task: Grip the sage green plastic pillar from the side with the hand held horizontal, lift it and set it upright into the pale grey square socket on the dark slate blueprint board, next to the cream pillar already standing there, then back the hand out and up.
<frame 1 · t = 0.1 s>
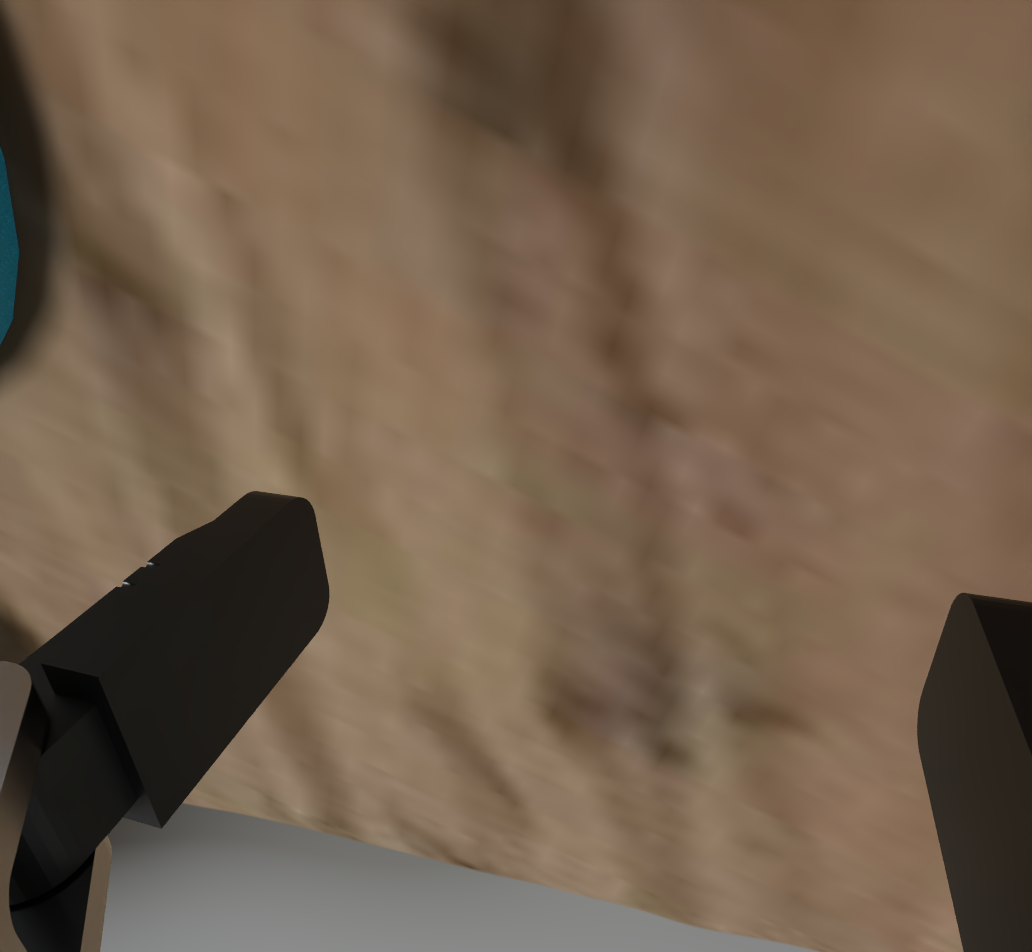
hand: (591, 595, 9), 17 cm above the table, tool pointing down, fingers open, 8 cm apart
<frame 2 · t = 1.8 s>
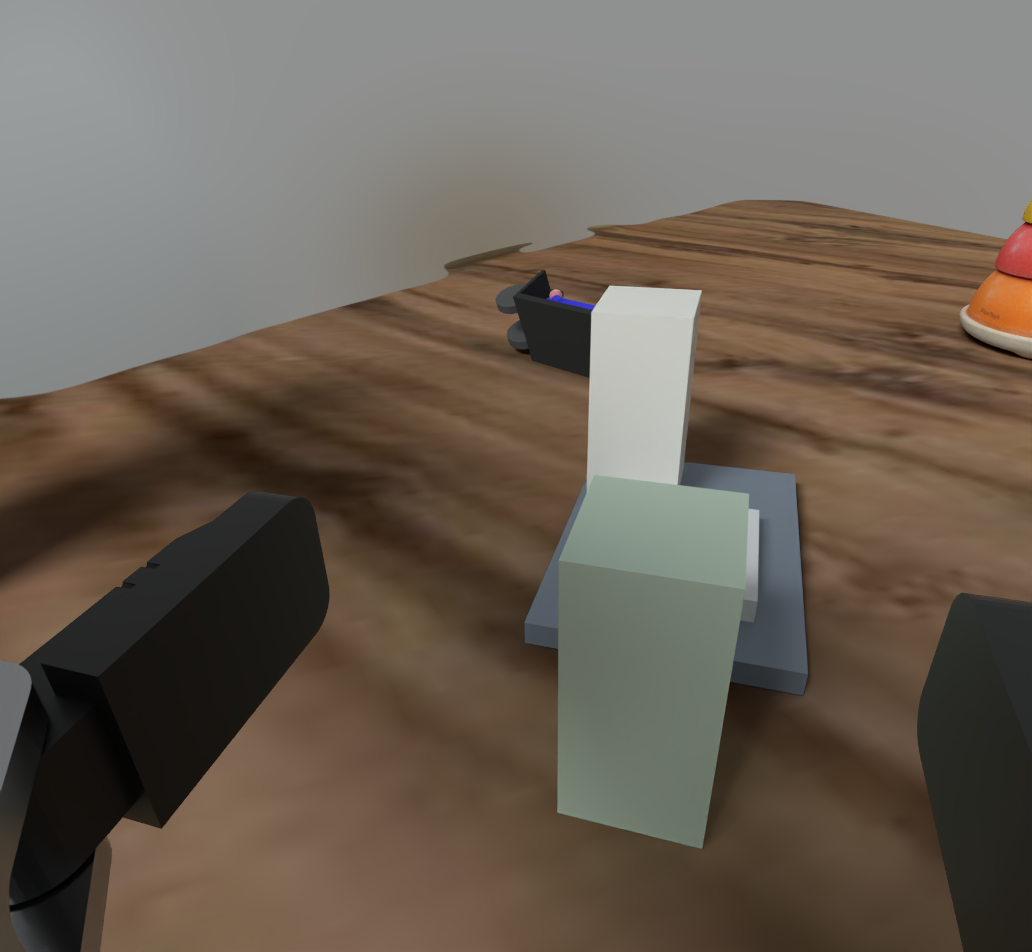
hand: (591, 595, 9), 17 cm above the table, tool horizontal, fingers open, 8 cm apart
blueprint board: (677, 556, 39), on the table
standing pillar: (635, 501, 44), resting on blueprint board
character figurine: (572, 369, 63), on the table
sage pillar: (638, 771, 27), on the table
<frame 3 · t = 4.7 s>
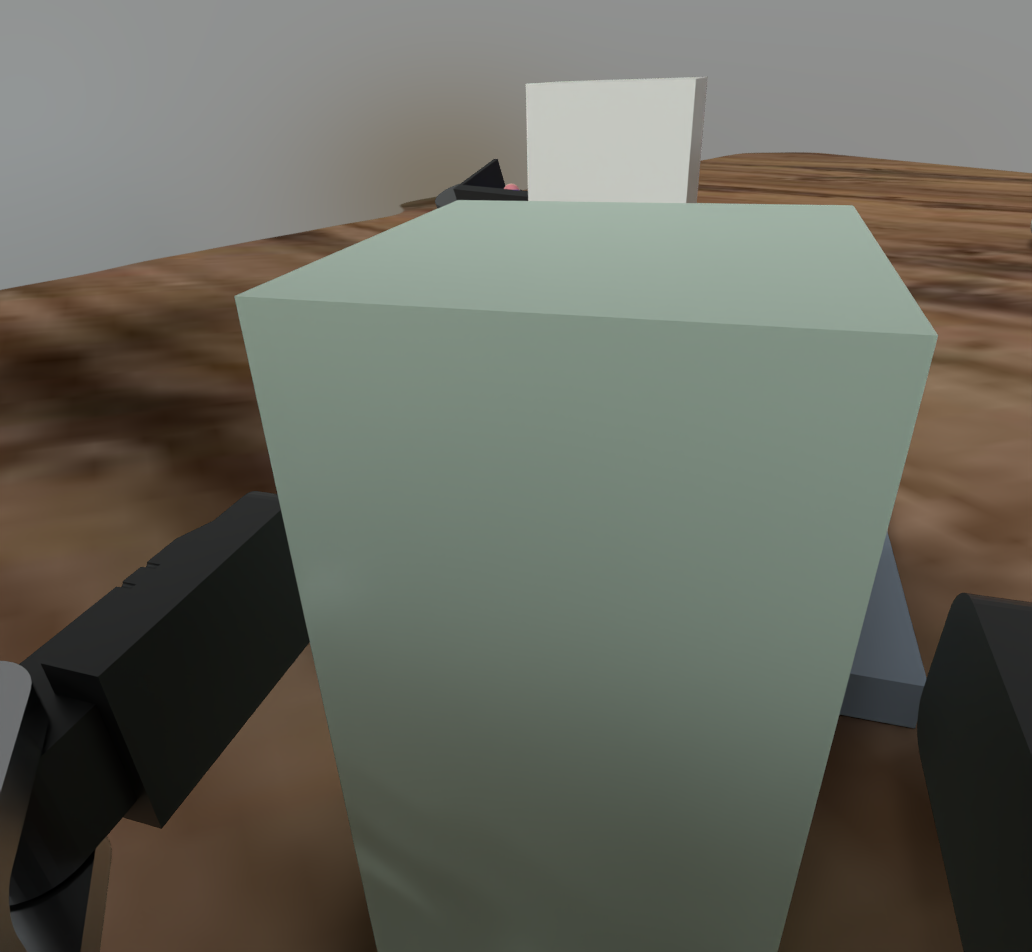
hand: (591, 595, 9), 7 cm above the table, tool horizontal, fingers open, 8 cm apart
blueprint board: (671, 496, 24), on the table
standing pillar: (609, 426, 29), resting on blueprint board
character figurine: (534, 289, 49), on the table
sage pillar: (586, 900, 12), on the table
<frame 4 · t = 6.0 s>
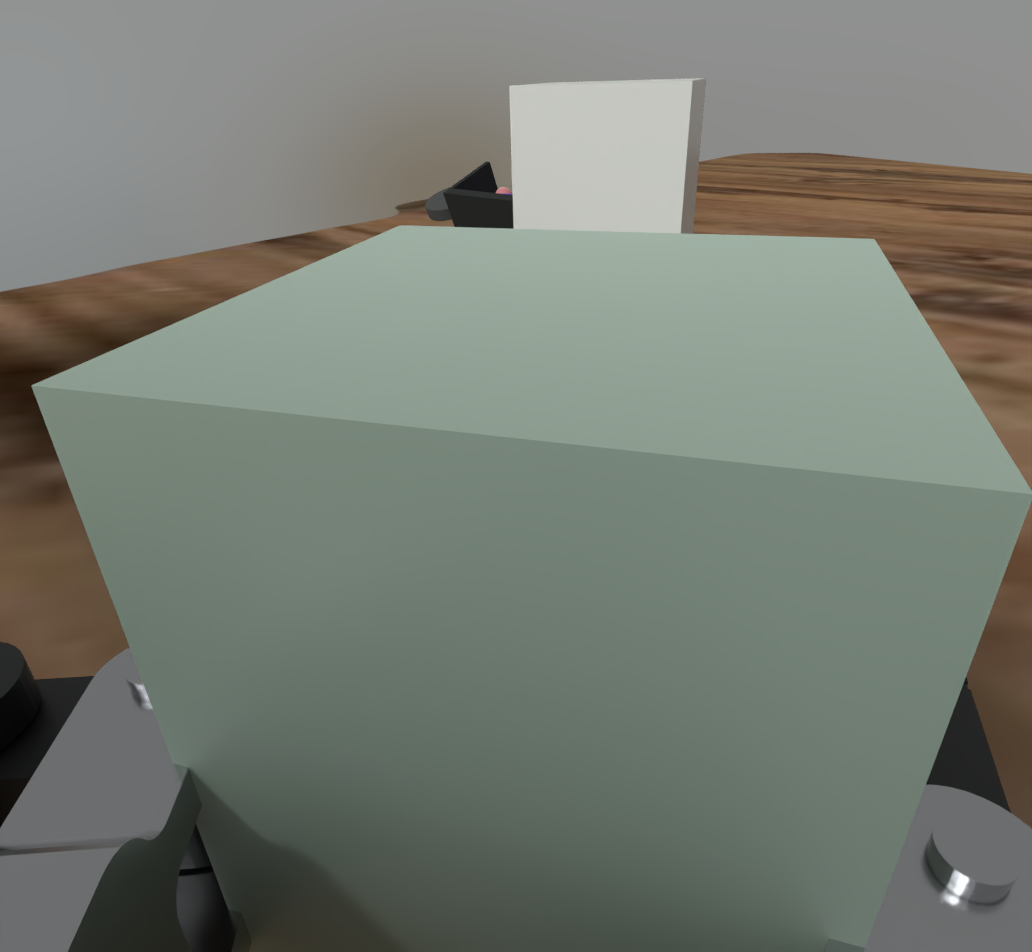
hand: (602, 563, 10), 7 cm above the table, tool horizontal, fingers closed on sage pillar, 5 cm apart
standing pillar: (602, 446, 28), resting on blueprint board
character figurine: (527, 296, 48), on the table
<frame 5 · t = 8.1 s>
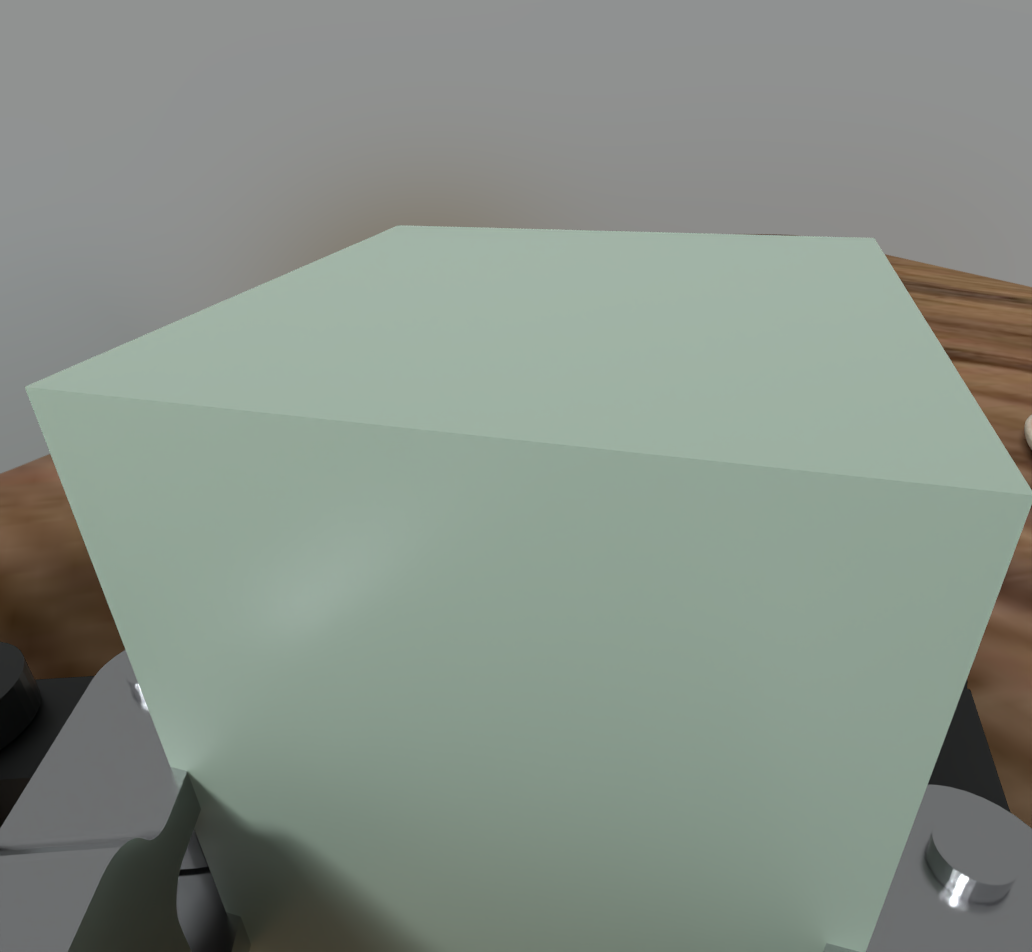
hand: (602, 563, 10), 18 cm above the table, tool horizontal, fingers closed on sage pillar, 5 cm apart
when the fingers open (9 cm above the table, at t = 10.7 s): sage pillar drops 2 cm, resting on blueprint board.
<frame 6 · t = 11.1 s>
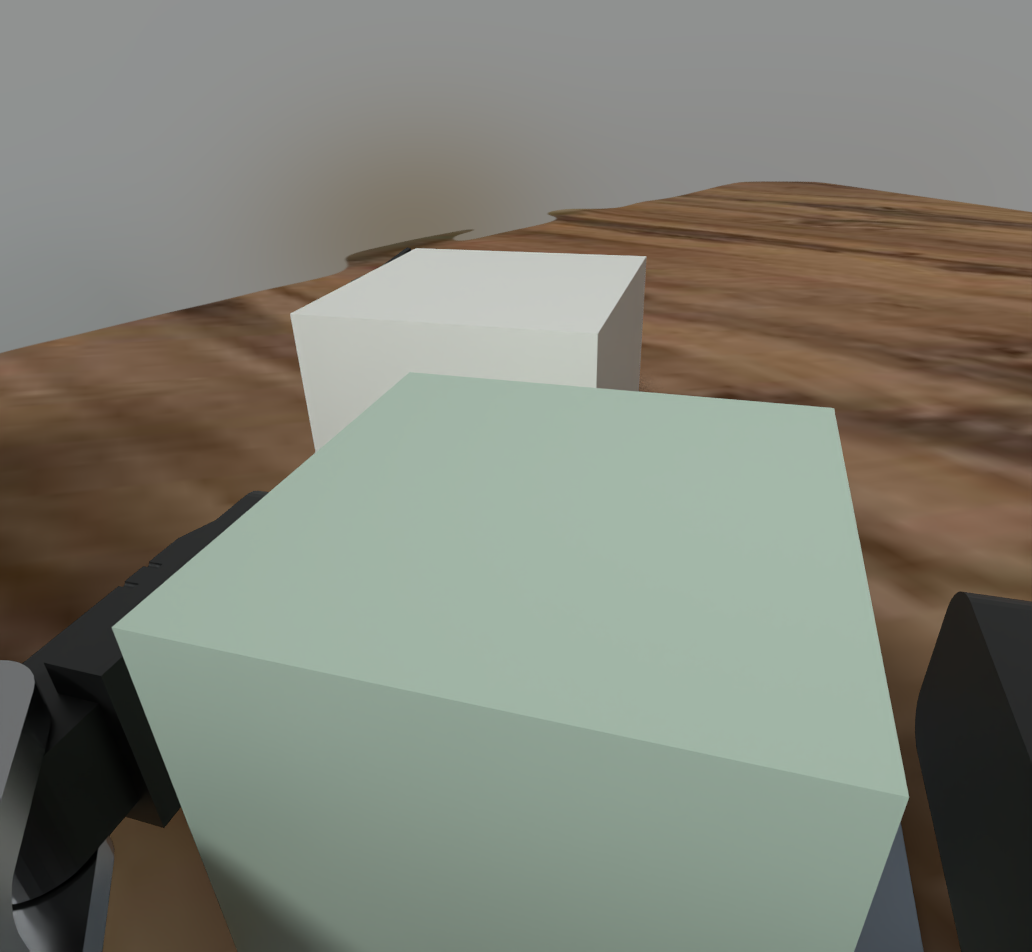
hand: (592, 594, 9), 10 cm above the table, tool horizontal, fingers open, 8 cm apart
standing pillar: (509, 749, 19), resting on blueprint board
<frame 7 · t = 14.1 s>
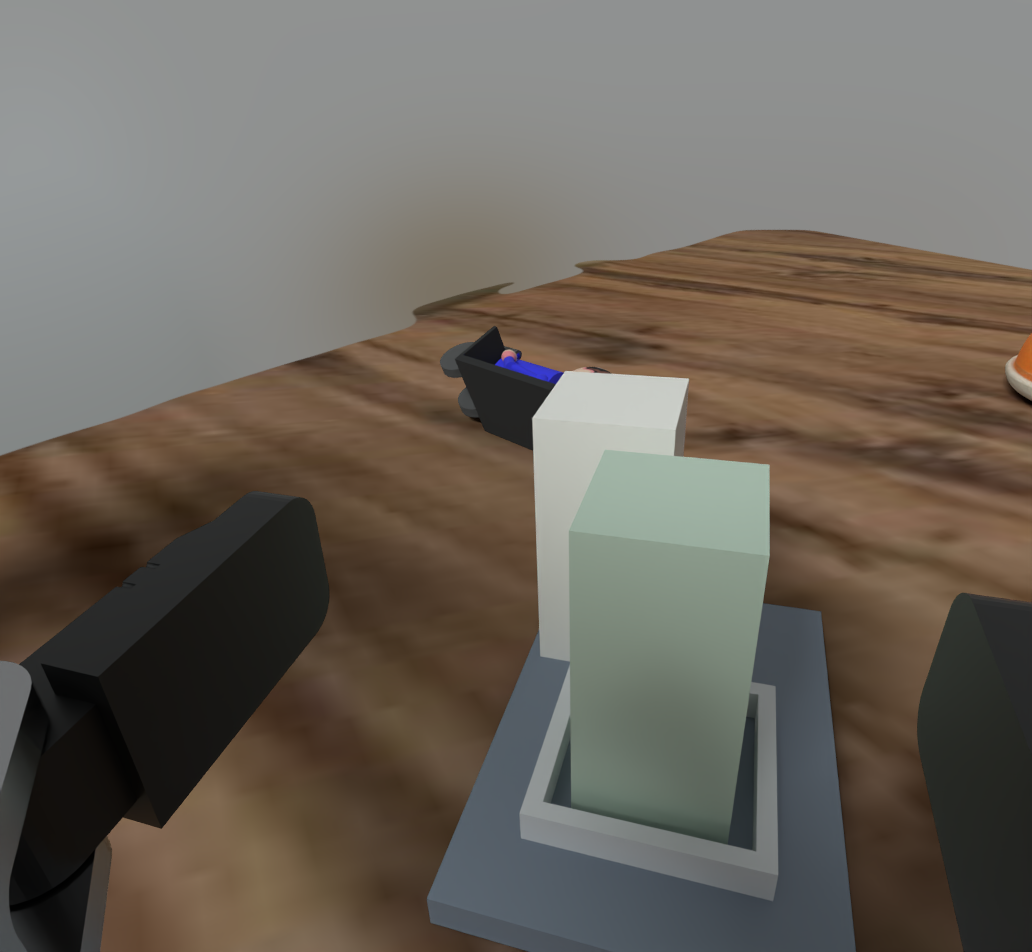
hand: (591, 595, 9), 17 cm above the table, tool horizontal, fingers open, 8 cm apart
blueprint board: (662, 748, 28), on the table
standing pillar: (608, 649, 33), resting on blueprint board
character figurine: (530, 442, 53), on the table
sage pillar: (656, 767, 25), point 1 cm above the table, touching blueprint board
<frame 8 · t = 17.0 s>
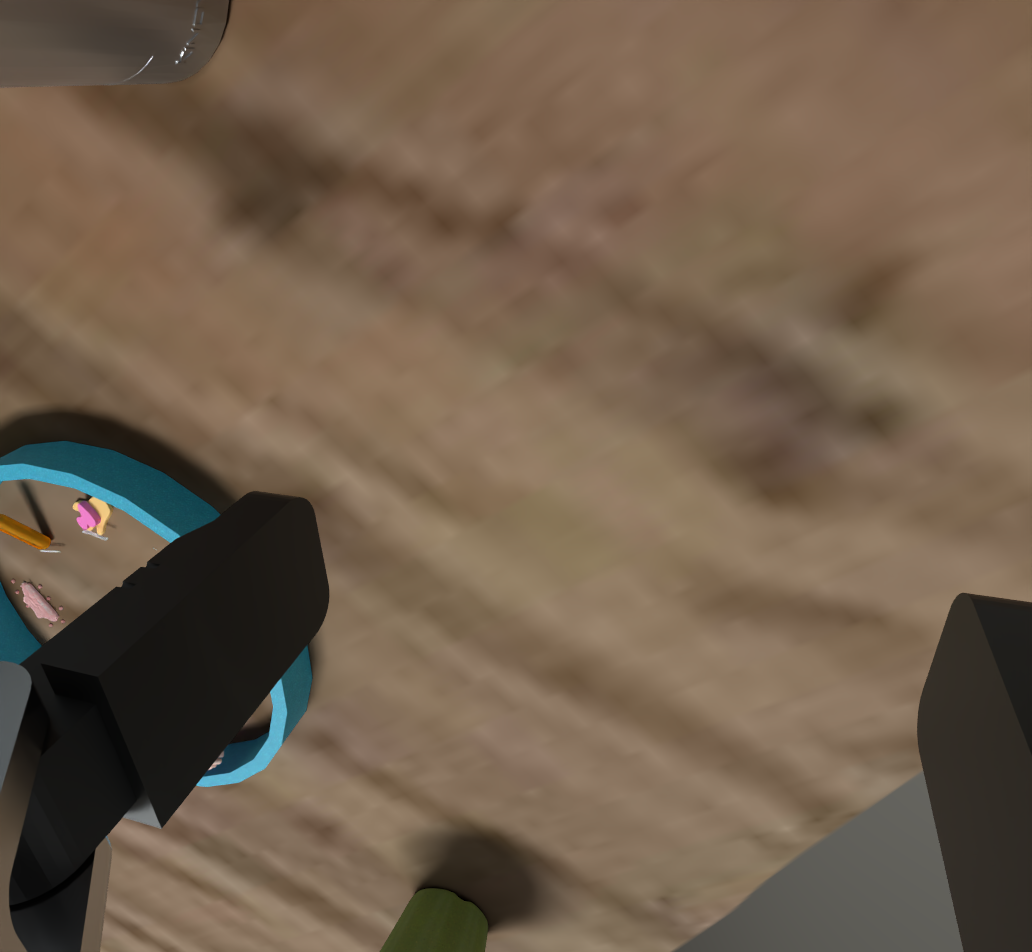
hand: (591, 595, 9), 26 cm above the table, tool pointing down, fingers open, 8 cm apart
plant pot: (453, 910, 64), on the table
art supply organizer: (145, 609, 57), on the table
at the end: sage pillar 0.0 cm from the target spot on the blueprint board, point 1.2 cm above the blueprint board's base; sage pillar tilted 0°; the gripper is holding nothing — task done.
